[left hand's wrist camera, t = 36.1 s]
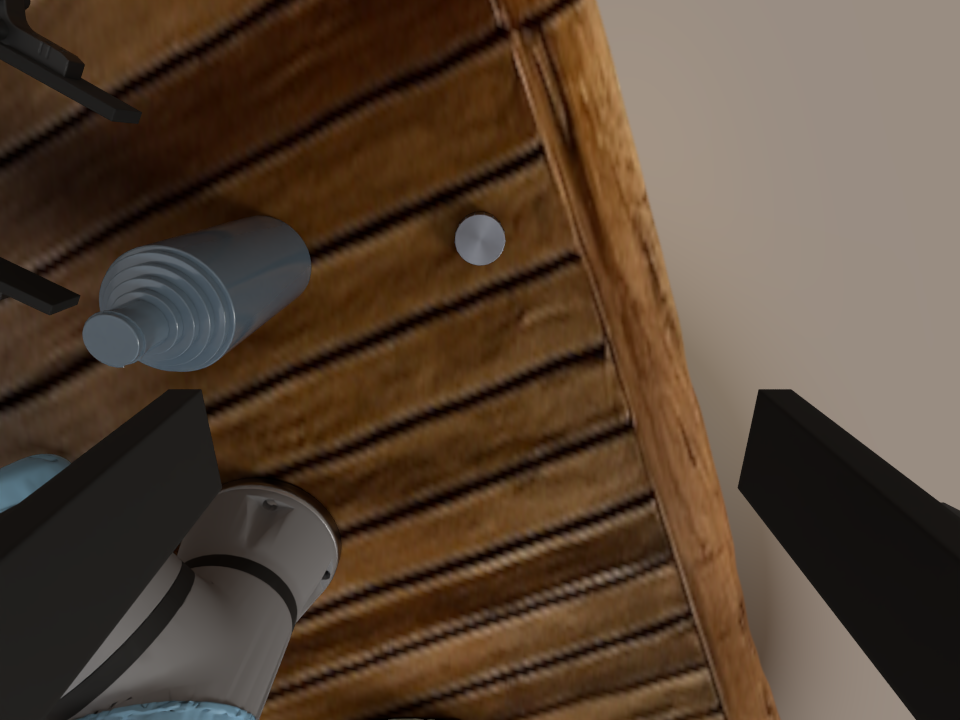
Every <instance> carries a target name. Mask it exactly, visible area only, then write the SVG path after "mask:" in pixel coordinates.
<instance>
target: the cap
mask: <svg viewBox="0 0 960 720" xmlns="http://www.w3.org/2000/svg"><path fill="white" fill-rule="evenodd" d="M504 232H505V231H504V229H503V228H502V225H501V223H500V221H498V220H497V219H496V218H495V217H494V216H493V215H491V214H489V213H485V212H474V213H471V214H469V215H466V217H465V218H464V219H463V220H462V221H461V222H459V226H458V228H457V230H456V232H455V234H456V235H455V245H456V249H457V251H458V253H459V254H460V256H461V257H462V258H463V259H464V260H465V261H467V262H469V263H471V264H474V265H486V264H489V263H491V262H493V261H495V260H496V259H497V258H498V257H499V256H500V254H501V253H502V251H503V249H504V245H505V242H506V241H505V234H504Z"/></svg>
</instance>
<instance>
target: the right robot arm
mask: <svg viewBox="0 0 960 720" xmlns="http://www.w3.org/2000/svg"><path fill="white" fill-rule="evenodd" d="M29 5H30V0H0V59H1V60H3V61H4V62H6V63H8V64H10V65H12V66H13V67H15V68H17V69H19V70H21V71H22V72H24V73H26V74H28V75H30V76H31V77H33V78H35V79H37V80H39V81H40V82H42V83H44V84H46V85H48V86H49V87H51V88H53V89H55V90H57V91H58V92H60V93H62V94H64V95H66V96H67V97H69V98H71V99H73V100H74V101H76V102H78V103H80V104H82V105H83V106H85V107H87V108H89V109H91V110H92V111H94V112H96V113H98V114H100V115H101V116H103V117H105V118H107V119H109V120H110V121H115V122H125V123H136V124H138V123H139V120H140V117H141V114H142V112H140V111H138V110H137V109H135V108H133V107H131V106H130V105H128V104H126V103H124V102H123V101H121V100H119V99H117V98H115V97H114V96H112V95H110V94H108V93H107V92H105V91H103V90H101V89H100V88H98V87H96V86H94V85H93V84H91V83H89V82H87V81H85V80H84V79H82V78H81V76H82V73H83V69H84V66H85V64H84V63H83V62H82V61H81V60H80V59H79V58H78V57H77V56H76V55H74V54H72V53H70V52H69V51H67V50H65V49H63V48H62V47H60V46H58V45H56V44H55V43H53V42H51V41H49V40H48V39H46V38H44V37H42V36H41V35H39V34H37V33H36V32H34V31H33V30H32V29H31V28H30V26H29V25H28V23H27V21H26V16H25V10H26V9H27V8H28V7H29ZM8 297H12V298H14V299H16V300H18V301H20V302H22V303H24V304H26V305H29V306H31V307H33V308H35V309H37V310H39V311H41V312H44V313H46V314H48V315H52V314H54V313H57V312H59V311H62V310H64V309H67V308H70V307H72V306H75V305H77V304H78V301H79V298H80V295H78V294H76V293H74V292H72V291H70V290H68V289H66V288H64V287H62V286H60V285H57V284H55V283H53V282H51V281H49V280H47V279H45V278H43V277H41V276H39V275H37V274H35V273H32V272H30V271H28V270H26V269H24V268H22V267H20V266H18V265H16V264H14V263H12V262H10V261H7V260H5V259H3V258H1V257H0V300H2V299H5V298H8Z"/></svg>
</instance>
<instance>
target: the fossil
mask: <svg viewBox="0 0 960 720" xmlns="http://www.w3.org/2000/svg"><path fill="white" fill-rule="evenodd" d="M390 720H422V719H390ZM429 720H433V719H429Z"/></svg>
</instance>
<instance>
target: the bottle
mask: <svg viewBox="0 0 960 720" xmlns="http://www.w3.org/2000/svg"><path fill="white" fill-rule="evenodd" d="M310 275H311V260H310V255H309V252H308V249H307V247H306V245H305V243H304V242H303V240H302V238H301V237H300V236H299V235H298V234H297V233H296V232H295V231H294V230H293V229H292V228H291V227H290V226H289V225H287V224H285V223H284V222H282V221H280V220H278V219H275V218H272V217H268V216H250V217H246V218H242V219H239V220H235V221H231V222H228V223H224V224H220V225H217V226H213V227H209V228H206V229H202V230H198V231H195V232H191V233H187V234H184V235H180V236H177V237H173V238H169V239H166V240H162V241H158V242H155V243H151V244H147V245H144V246H140V247H137V248H134V249H131V250H129V251H127V252H125V253H124V254H122V255H121V256H120V257H118V258H117V259H116V260H115V261H114V262H113V263H112V265H111V266H110V268H109V269H108V271H107V273H106V275H105V277H104V279H103V281H102V284H101V288H100V294H99V305H100V311H101V312H97V313H95V314H94V315H92V316H91V317H89V319H88V320H87V321H86V322H85V325H84V328H83V341H84V344H85V346H86V348H87V349H88V351H89V352H90V353H91V354H92V355H93V356H94V357H95V358H96V359H98V360H99V361H101V362H102V363H104V364H107V365H108V366H113V367H125V366H124V365H128V364H132V363H135V362H137V361H140V362H142V363H144V364H146V365H148V366H151V367H153V368H157V369H160V370H166V371H181V372H185V371H194V370H199V369H202V368H205V367H207V366H209V365H211V364H213V363H215V362H216V361H217V360H219V359H220V358H221V357H223V356H224V355H225V354H226V353H228V352H229V351H230V350H231V349H233V348H234V347H235V346H237V345H238V344H239V343H240V342H242V341H243V340H244V339H245V338H247V337H248V336H249V335H250V334H252V333H253V332H254V331H256V330H257V329H258V328H259V327H261V326H262V325H263V324H264V323H266V322H267V321H268V320H269V319H271V318H272V317H273V316H275V315H276V314H277V313H278V312H280V311H281V310H282V309H283V308H285V307H286V306H287V305H288V304H290V303H291V302H292V301H294V300H295V299H296V298H297V297H298V296H300V295H301V294H302V292H303V291H304V290H305V288H306V286H307V285H308V282H309V279H310Z"/></svg>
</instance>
